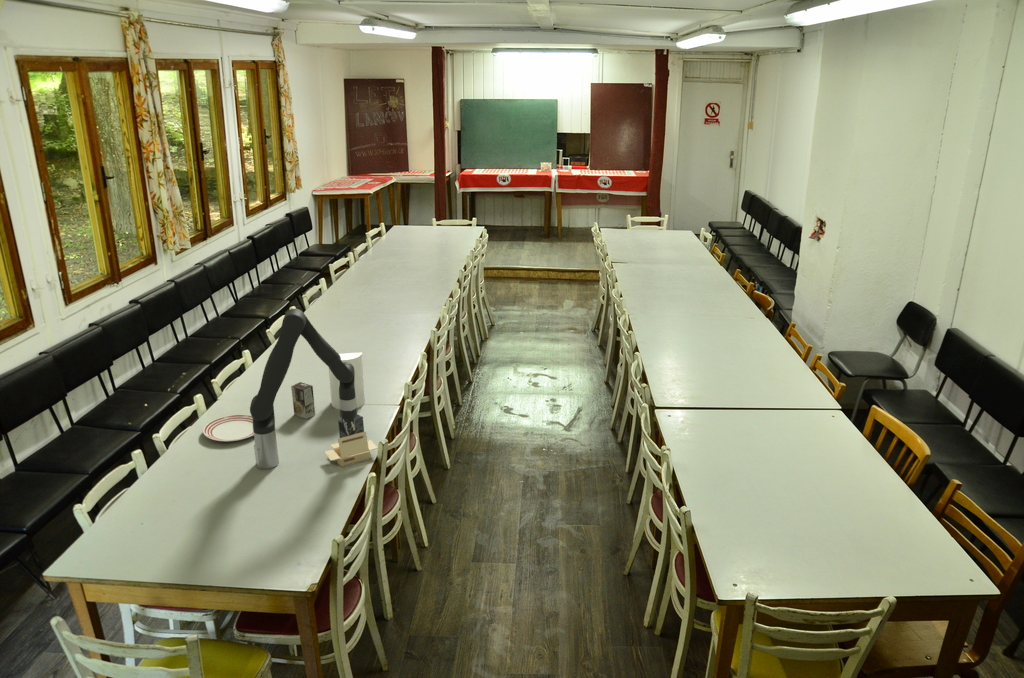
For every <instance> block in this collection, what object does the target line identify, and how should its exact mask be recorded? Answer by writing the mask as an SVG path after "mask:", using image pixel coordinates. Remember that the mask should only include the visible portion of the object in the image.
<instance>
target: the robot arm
mask: <svg viewBox="0 0 1024 678" xmlns="http://www.w3.org/2000/svg"><path fill="white" fill-rule="evenodd" d="M281 322H282V323H281V328H280V332H279V336H278V338H277V341H276V343H275V345H274V347H273V348H272V350H271V351H270V354H269V355H268V358H267V361H266V364H265V366H264V370H263V374H262V377H261V382H260V386H259V390H258V392H257V394H255V396H253V397H252V399H251V401H250V407H249V413H250V415H251V416H252V417H253V432H254V435H253V438H254V445H253V449H254V457H255V464H256V465H257V468H258V469H259V470H269V469H273V468H275V467H277V466H278V465H279V464H280V461H279V460H280V458H279V452H278V451H279V449H278V442H277V441H278V440H277V434H276V433H277V432H276V417H275V408H274V407H275V406H274V403H275V401H276V400H275V399H276V397H277V393H278V392H279V390H280V388H281V386H282V384H283V382H284V380H285V378H286V376H287V373H288V371H289V368H290V365H291V362H292V359H293V355H294V351H295V350H294V349H295V346H296V344H297V342H298V341H299V338H300V336H302V337H303V338H304V339H305V341H306V342H307V343H308V345H309V346H310V348H311V349H312V350H313V352H314V353H315V354H316V356H317V357H318V358H319V359H320V361H322V362H323V364H325V365H326V366H327V367H328V369H329V368H330V370H331V372H332V373H333V374H334V376H335V377H336V378H337V379H338V380H339V382H340V385H339V408H340V410H339V416H340V418H341V419H342V421H343V425H344V428H345V430H346V433H347V436H350V435H353V434H355V432H356V430H357V427H354V424H355V420H354V418H355V417H356V416H357V414H358V408H357V403H356V397H355V386H354V380H355V371H354V367H353V365H352V364H350V363H348V362H344V363H343V362H342V360H341V357H340V355H339V354H340V353H338V352H337V351H336V350H335V348H334V347H332V346H331V344H330V343H328V341H326V340H325V338H324V337H323V336H322V335H321V334H320V333H319V332H318V331H317V329H316V328H315V326H313V324H312V323H311V321H310V320H309V319H308V317H307V316H306V314H305V313H304V312H303V311H302V310H301V309H299V308H290V309H289V310H287V311H286V312H285V315H284V316H283V318H282V321H281Z"/></svg>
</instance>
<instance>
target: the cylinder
mask: <svg viewBox="0 0 1024 678" xmlns="http://www.w3.org/2000/svg"><path fill="white" fill-rule="evenodd" d="M338 354H339V355H340V357H341V360H342V362H343V363H344V362H348V363H350V364H352V365H353V367H354V371H355V380H354V386H355V397H356V403H357V409H359V408H360V407H363V406H364V405H365V404H366V394H365V392H366V391H365V380H364V379H365V378H364V360H363V352H347V353H346V352H345V353H338ZM328 375H329V389H330V398H331V406H332V407H333V409H337V410H339V411H340V408H339V385H340V382H339V380H338V379H337V378H336V377H335V376H334V374H333V373H332V372H331V370H330V368H329V367H328Z"/></svg>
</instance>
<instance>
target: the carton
mask: <svg viewBox="0 0 1024 678" xmlns="http://www.w3.org/2000/svg"><path fill="white" fill-rule="evenodd" d="M367 442H368V447H369V451H367V452H364V453H360V454H356V455H352V456H349V457H345V458H341V453H340V448H339V443H338V442H335V443H332V444H330V447H331V448H332V449H329V450H326V451H323V452H324V455H326V457H327V458H328V459H329V461H331V462H333V461H336V462H337V464H338V465H339V467H340V468H343V467H346V466H350V465H353V464H354V465H355V464H357V463H361V462H365V461H368V460H371V451H374V450H378V449H379V448H378V446H377V445H376V444H375V443H374V442H373V441H372V440H371V439H369V440H368V439H367Z"/></svg>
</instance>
